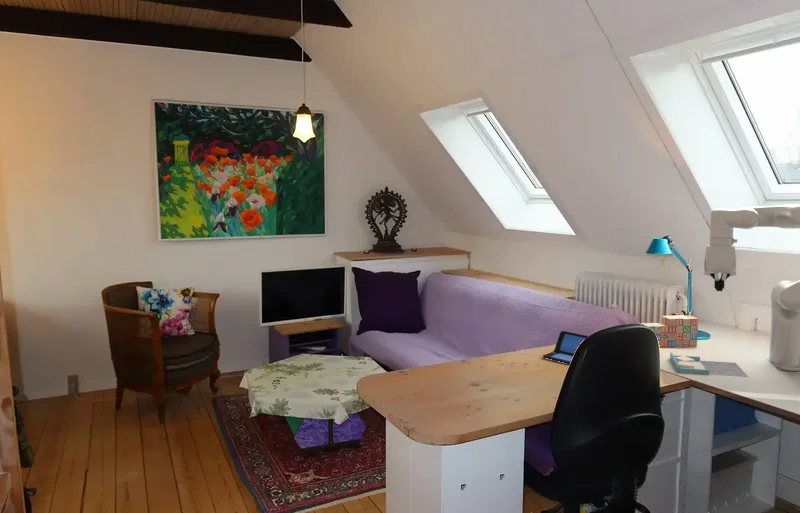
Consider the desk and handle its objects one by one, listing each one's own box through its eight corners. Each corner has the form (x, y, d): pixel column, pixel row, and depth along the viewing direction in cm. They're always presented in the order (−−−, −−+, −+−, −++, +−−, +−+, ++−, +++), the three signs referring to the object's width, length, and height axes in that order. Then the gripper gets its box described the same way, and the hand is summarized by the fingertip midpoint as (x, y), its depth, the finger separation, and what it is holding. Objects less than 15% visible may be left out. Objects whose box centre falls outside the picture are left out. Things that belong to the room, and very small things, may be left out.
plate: (735, 366, 215) (735, 362, 214) (748, 381, 198) (748, 376, 198) (699, 364, 218) (699, 360, 218) (709, 378, 202) (709, 374, 202)
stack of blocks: (646, 348, 242) (647, 319, 240) (639, 344, 248) (640, 316, 247) (697, 347, 242) (698, 318, 241) (689, 343, 248) (690, 314, 247)
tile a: (694, 367, 213) (694, 359, 213) (683, 368, 212) (684, 360, 212) (683, 363, 218) (684, 356, 218) (673, 365, 217) (674, 357, 217)
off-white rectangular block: (694, 370, 210) (694, 362, 209) (693, 374, 206) (694, 366, 205) (678, 369, 212) (678, 361, 212) (678, 372, 208) (678, 364, 208)
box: (699, 364, 218) (699, 354, 218) (709, 378, 202) (709, 367, 201) (670, 362, 221) (670, 352, 220) (677, 376, 205) (677, 365, 204)
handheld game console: (541, 359, 230) (541, 336, 229) (560, 352, 238) (560, 330, 237) (576, 367, 218) (576, 343, 217) (595, 360, 227) (595, 337, 226)
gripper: (740, 241, 219) (738, 289, 221) (696, 241, 223) (695, 288, 225) (746, 243, 211) (744, 293, 213) (700, 242, 216) (699, 291, 218)
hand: (719, 290), depth 219 cm, fingers closed
